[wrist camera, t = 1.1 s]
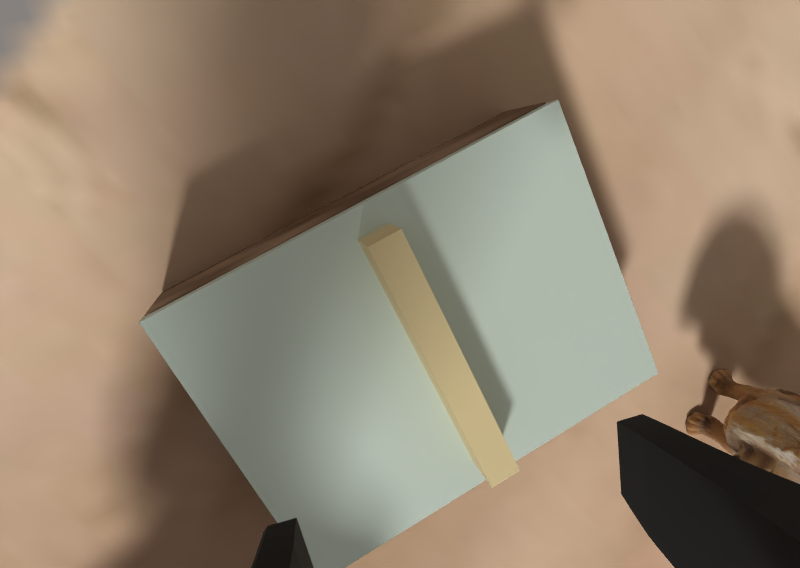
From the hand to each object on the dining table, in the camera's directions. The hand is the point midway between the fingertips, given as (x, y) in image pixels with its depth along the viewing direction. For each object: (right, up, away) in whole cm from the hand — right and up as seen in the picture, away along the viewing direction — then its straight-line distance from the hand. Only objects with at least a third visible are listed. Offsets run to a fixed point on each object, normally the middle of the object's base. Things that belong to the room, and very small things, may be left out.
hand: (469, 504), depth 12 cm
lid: (0, +2, +9) cm, 9 cm away
